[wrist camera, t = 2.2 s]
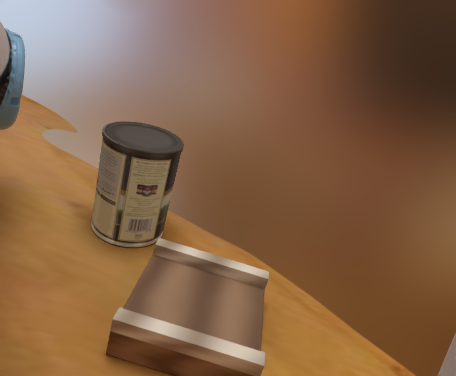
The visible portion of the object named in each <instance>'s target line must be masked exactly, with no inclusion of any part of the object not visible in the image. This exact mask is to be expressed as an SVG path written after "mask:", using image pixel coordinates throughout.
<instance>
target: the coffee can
mask: <svg viewBox="0 0 456 376" xmlns="http://www.w3.org/2000/svg"><path fill="white" fill-rule="evenodd" d="M102 136H103V140H102V147H101V155H100V163H99V171H98V178H97V186H96V193H95V201H94V208H93V216H92V220H91V227H92V230H93V231H94V233H95V234H96V235H97V236H98V237H99V238H101V239H103V240H104V241H106V242H108V243H111V244H114V245H117V246H122V247H144V246H148V245H151V244H153V243H155V242H157V241H158V239H159V238H161V237H162V235H163V231H164V224H165V220H166V215H167V211H168V207H169V202H170V197H171V193H172V189H173V184H174V180H175V176H176V172H177V167H178V163H179V159H180V154H181V152H182V150H183V146H184V144H183V141H182V140H181V139H180V138H179V137H178V136H176V135H175V134H173V133H171V132H169V131H167V130H165V129H162V128H159V127H156V126H153V125H149V124H143V123H137V122H114V123H110V124H107V125H106V126H105V127H104V128H103V132H102Z"/></svg>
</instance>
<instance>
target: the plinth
mask: <svg viewBox="0 0 456 376" xmlns="http://www.w3.org/2000/svg"><path fill="white" fill-rule="evenodd" d="M268 279H269V272H268V271H265V270H262V269H258V268H255V267H252V266H249V265H246V264H242V263H239V262H236V261H233V260H229V259H226V258H223V257H220V256H216V255H213V254H210V253H207V252H203V251H200V250H197V249H194V248H190V247H187V246H184V245H181V244H177V243H174V242H171V241H168V240H164V239H161V238H159V239H158V241H157V242H156V244H155V248H154V253H153V255H152V257H151V259H150V261H149V263H148V264H147V266H146V268H145V270H144V272H143V273H142V275H141V277H140V279H139V281H138V282H137V284H136V286H135V288H134V290H133V291H132V293H131V295H130V297H129V299H128V300H127V302H126V304H125V306H124V308H120V307H119V309H118V311H117V312H116V314H115V316H114V318H113V320H112V326H111V331H110V336H109V341H108V346H107V352H106V354H107V355H110V356H113V357H117V358H120V359H123V360H126V361H129V362H133V363H136V364H139V365H142V366H146V367H149V368H152V369H155V370H158V371H162V372H165V373H168V374H171V375H175V376H260V375H261V372H262V370H263V368H264V364H265V352H262V351H261V341H262V324H263V308H264V291H265V287H266V284H267V282H268Z"/></svg>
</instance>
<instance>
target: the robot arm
mask: <svg viewBox="0 0 456 376" xmlns="http://www.w3.org/2000/svg"><path fill="white" fill-rule="evenodd" d="M24 65H25V49H24V43H23V40H22V38H21V37H20V35H18V34H16V33H14V32H10V31H9V30H7V29H5V28H4V27H3V25H2V23H1V22H0V130H2V129H7V128H9V127H11V126H12V125H13V124H14V122H15V121H16V118H17V115H18V112H19V107H20V98H21V94H22V89H23V79H24V67H25V66H24ZM438 376H456V333H455V336H454V338H453V341H452V343H451V345H450V348H449V350H448V353H447V355H446V357H445V360H444V362H443V365H442V367H441V369H440V372H439V374H438Z"/></svg>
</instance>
